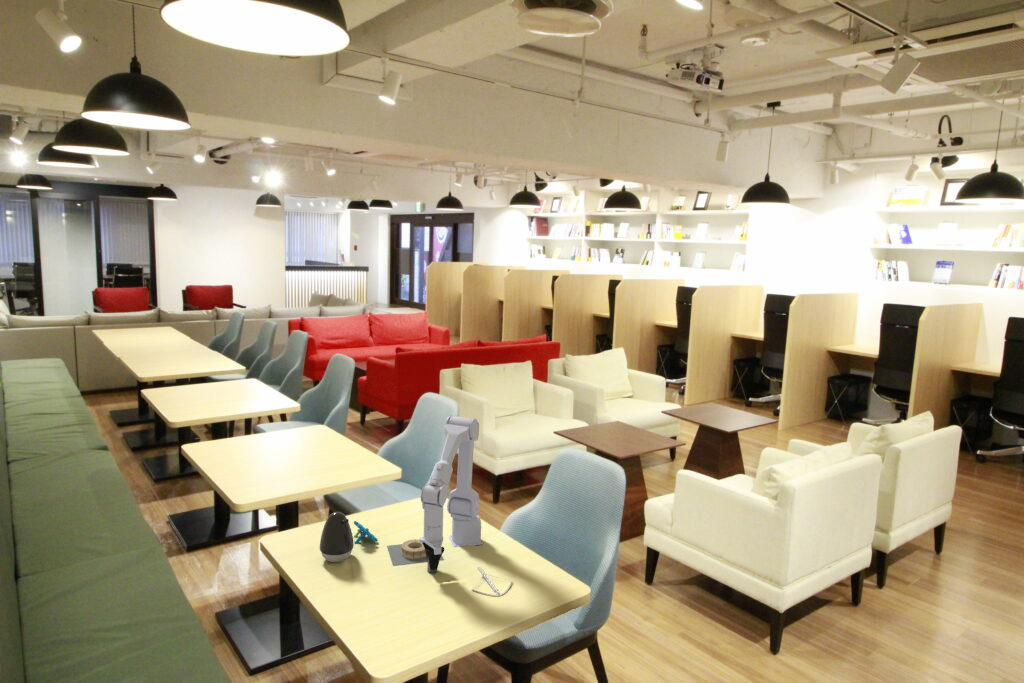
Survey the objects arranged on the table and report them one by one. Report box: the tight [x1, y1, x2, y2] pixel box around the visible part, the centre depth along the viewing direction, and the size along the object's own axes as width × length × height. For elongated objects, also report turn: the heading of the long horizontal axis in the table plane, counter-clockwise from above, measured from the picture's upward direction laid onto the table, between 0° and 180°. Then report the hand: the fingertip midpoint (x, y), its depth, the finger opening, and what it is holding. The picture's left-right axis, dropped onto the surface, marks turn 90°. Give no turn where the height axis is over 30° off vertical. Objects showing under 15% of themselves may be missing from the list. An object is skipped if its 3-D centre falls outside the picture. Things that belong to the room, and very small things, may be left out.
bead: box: [401, 539, 426, 559], centre depth 208 cm, size 8×8×2 cm
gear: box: [353, 520, 379, 544], centre depth 215 cm, size 11×6×10 cm
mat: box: [386, 543, 445, 567], centre depth 208 cm, size 16×14×1 cm
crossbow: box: [471, 566, 513, 597], centre depth 193 cm, size 16×13×2 cm
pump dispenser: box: [319, 511, 355, 563], centre depth 202 cm, size 10×10×15 cm
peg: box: [426, 559, 438, 574], centre depth 197 cm, size 3×3×6 cm
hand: (432, 566), depth 197 cm, fingers closed on peg, 3 cm apart
